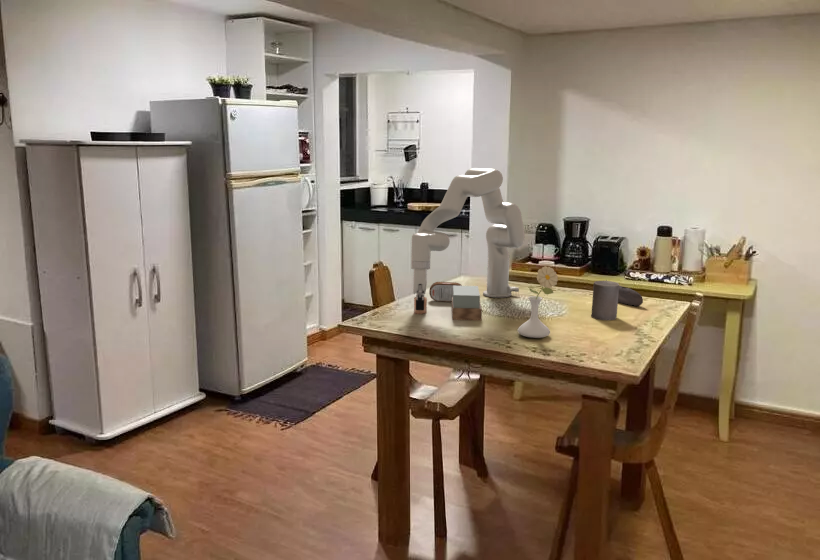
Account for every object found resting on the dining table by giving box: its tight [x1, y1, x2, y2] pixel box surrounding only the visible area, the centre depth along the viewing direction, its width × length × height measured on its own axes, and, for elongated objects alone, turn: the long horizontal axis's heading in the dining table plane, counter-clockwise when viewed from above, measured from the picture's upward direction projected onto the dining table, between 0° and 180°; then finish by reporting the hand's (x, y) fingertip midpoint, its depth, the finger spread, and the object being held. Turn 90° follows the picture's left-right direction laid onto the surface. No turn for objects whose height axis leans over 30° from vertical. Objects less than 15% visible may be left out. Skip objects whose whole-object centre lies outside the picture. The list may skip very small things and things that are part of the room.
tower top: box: [453, 285, 481, 308], centre depth 263 cm, size 10×18×5 cm, turn 177°
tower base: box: [451, 297, 483, 321], centre depth 263 cm, size 11×19×5 cm, turn 178°
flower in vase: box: [516, 265, 559, 339], centre depth 231 cm, size 13×11×25 cm
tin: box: [428, 281, 463, 303], centre depth 284 cm, size 15×3×8 cm, turn 84°
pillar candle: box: [590, 279, 620, 321], centre depth 259 cm, size 10×10×15 cm
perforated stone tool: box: [618, 285, 644, 307], centre depth 282 cm, size 15×5×7 cm, turn 29°
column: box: [413, 296, 428, 315], centre depth 265 cm, size 5×5×6 cm
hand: (420, 307), depth 265 cm, fingers open, 9 cm apart
